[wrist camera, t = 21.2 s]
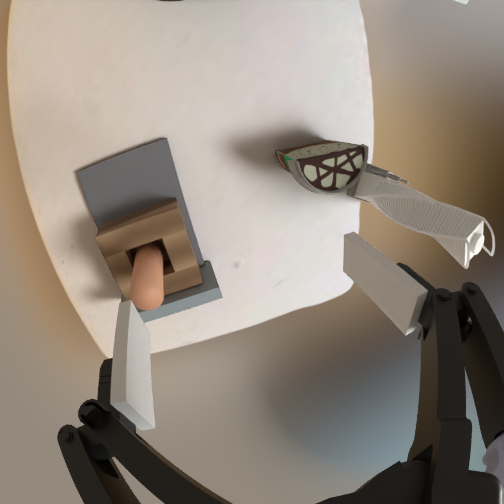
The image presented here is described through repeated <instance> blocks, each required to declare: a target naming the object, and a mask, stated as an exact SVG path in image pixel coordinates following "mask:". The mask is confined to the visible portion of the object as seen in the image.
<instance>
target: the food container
mask: <svg viewBox="0 0 504 504" xmlns="http://www.w3.org/2000/svg"><path fill="white" fill-rule="evenodd" d="M275 153H276V156H277V158H278V160H279V162H280V163H281V165H282V166H283V167H284V168H286V169H287V170H288V171H289V172H291V173H292V174H293V176H294V178H295V179H296V180H297V181H298V183H299V184H300V185H302V186H303V187H304V188H306V189H307V190H309V191H312V192H315V193H320V194H336V193H340V192H343V191H345V190H347V189H349V188H350V187H352V186H353V185H354V184H355V183H356V182H357V181H358V180H359V178H360V177H361V176H362V174H363V172H364V170H365V167H366V164H367V160H368V146H366V145H363V144H361V145H357V144H351V143H345V142H338V141H331V140H322V141H317V142H312V143H307V144H302V145H298V146H293V147H289V148H284V149H280V150H276V151H275Z"/></svg>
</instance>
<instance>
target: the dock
mask: <svg viewBox="0 0 504 504" xmlns="http://www.w3.org/2000/svg"><path fill="white" fill-rule="evenodd" d="M77 174H78V177H79V180H80V183H81V186H82V189H83V192H84V194H85V197H86V200H87V202H88V205H89V208H90V210H91V213H92V215H93V218H94V220H95V223H96V225H97V227H98V230H99V229H100V227H101V226H102V224H104V223H107V222H109V221H112V220H115V219H117V218H120V217H123V216H125V215H128V214H131V213H134V212H136V211H139V210H142V209H145V208H148V207H150V206H153V205H156V204H159V203H162V202H165V201H168V200H171V199H174V198H177V201H178V205H179V208H180V211H181V214H182V217H183V221H184V224H185V227H186V230H187V233H188V236H189V239H190V242H191V245H192V248H193V251H194V254H195V257H196V260H197V263H198V265H199V269H200V273H201V276H202V280H203V283H202V284H199V285H196V286H193V287H190V288H187V289H184V290H181V291H178V292H175V293H172V294H168V295H165V296H164V299H163V302H162V304H161V305H160V306H159V307H158V308H156V309H154V310H149V311H146V310H141V309H138V308H137V307H135V308H136V310H137V311H138V313H139V315H140V317H141V319H142V320H143V322H144V323H145V322H148V321H151V320H155V319H158V318H161V317H164V316H168V315H171V314H174V313H177V312H180V311H183V310H187V309H190V308H193V307H196V306H199V305H202V304H205V303H208V302H211V301H214V300H217V299H220V298H223V297H222V294H221V291H220V288H219V285H218V283H217V280H216V277H215V274H214V271H213V268H212V265H211V263H210V261H207V262H204V261H203V258H202V255H201V252H200V248H199V245H198V242H197V239H196V236H195V233H194V230H193V227H192V223H191V220H190V217H189V214H188V210H187V207H186V204H185V201H184V197H183V194H182V190H181V187H180V184H179V180H178V177H177V173H176V170H175V166H174V162H173V159H172V155H171V151H170V148H169V144H168V140H167V138H165V139H162V140H159V141H156V142H153V143H150V144H147V145H144V146H141V147H138V148H135V149H133V150H130V151H127V152H125V153H122V154H119V155H117V156H114V157H112V158H109V159H107V160H104V161H102V162H99V163H97V164H95V165H92V166H90V167H88V168H85V169H83V170H81V171H79V172H77ZM125 301H126V299H125V297H124V296H123V294H122V298H121V303H122V302H125Z"/></svg>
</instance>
